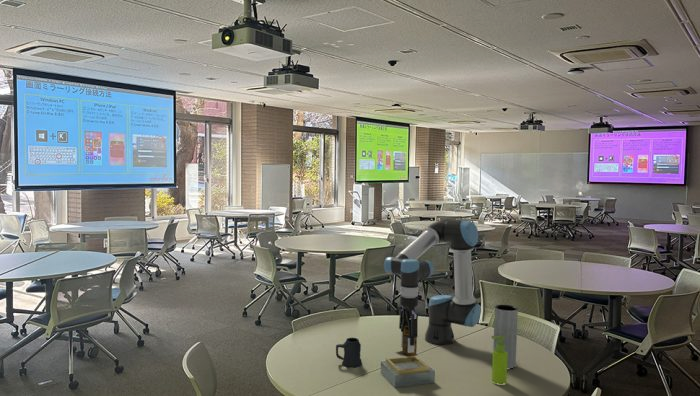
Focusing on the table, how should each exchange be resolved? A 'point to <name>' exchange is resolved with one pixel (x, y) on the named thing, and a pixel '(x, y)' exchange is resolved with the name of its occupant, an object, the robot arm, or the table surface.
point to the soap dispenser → (499, 362)
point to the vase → (506, 330)
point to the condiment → (404, 351)
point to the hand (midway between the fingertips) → (407, 349)
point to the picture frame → (407, 371)
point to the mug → (350, 353)
